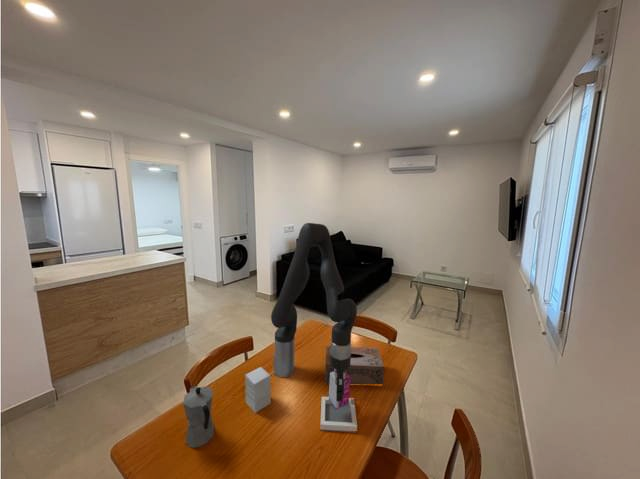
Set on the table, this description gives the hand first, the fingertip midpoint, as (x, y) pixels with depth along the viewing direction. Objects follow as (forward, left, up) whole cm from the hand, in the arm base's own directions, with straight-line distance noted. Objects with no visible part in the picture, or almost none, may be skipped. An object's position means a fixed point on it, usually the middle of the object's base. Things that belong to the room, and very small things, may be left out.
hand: (338, 392), depth 94 cm
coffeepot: (-47, -12, -10) cm, 50 cm away
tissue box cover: (+8, +24, -10) cm, 27 cm away
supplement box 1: (-32, +4, -10) cm, 34 cm away
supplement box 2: (0, 0, -4) cm, 4 cm away
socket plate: (0, 0, -10) cm, 10 cm away
